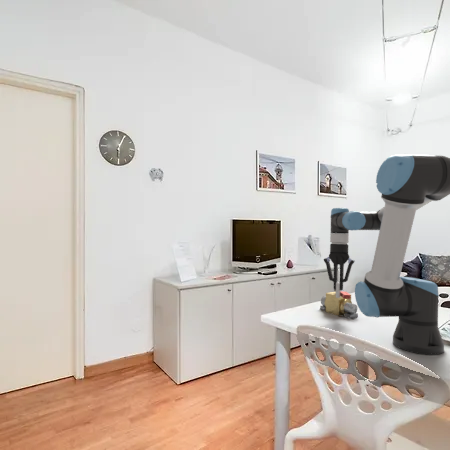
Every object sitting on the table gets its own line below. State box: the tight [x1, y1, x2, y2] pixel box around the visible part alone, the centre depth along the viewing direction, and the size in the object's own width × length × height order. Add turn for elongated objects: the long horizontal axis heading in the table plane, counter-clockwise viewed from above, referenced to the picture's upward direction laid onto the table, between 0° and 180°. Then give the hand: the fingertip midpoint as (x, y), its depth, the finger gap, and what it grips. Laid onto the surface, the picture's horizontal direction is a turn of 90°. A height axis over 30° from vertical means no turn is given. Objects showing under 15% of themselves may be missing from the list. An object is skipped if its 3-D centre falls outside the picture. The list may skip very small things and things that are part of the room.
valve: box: [320, 291, 359, 319], centre depth 154 cm, size 8×18×10 cm, turn 29°
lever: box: [333, 289, 352, 300], centre depth 147 cm, size 18×4×2 cm, turn 173°
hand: (338, 297), depth 143 cm, fingers closed
